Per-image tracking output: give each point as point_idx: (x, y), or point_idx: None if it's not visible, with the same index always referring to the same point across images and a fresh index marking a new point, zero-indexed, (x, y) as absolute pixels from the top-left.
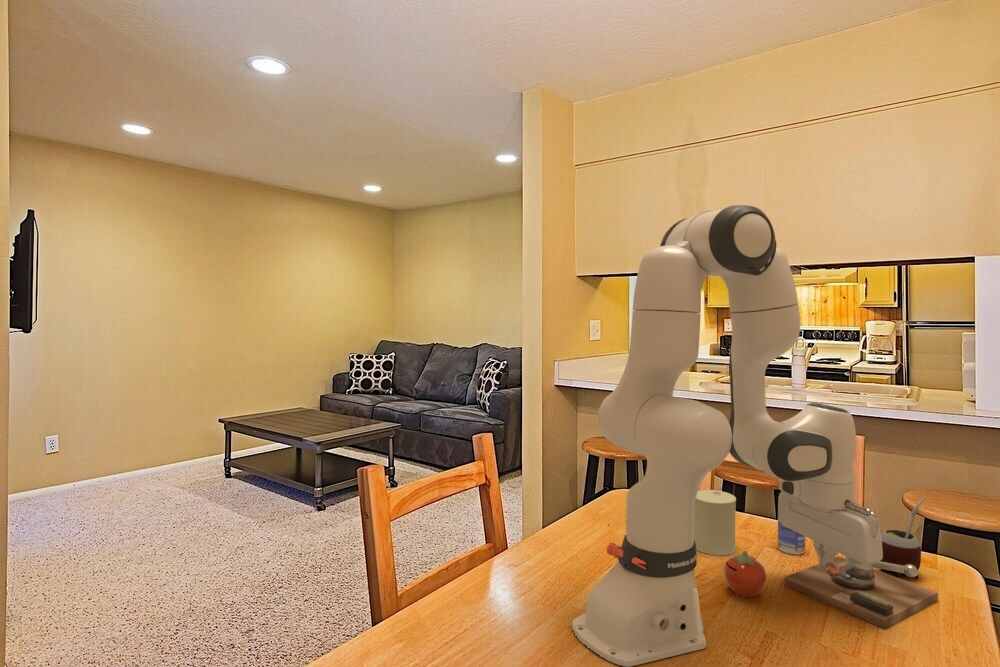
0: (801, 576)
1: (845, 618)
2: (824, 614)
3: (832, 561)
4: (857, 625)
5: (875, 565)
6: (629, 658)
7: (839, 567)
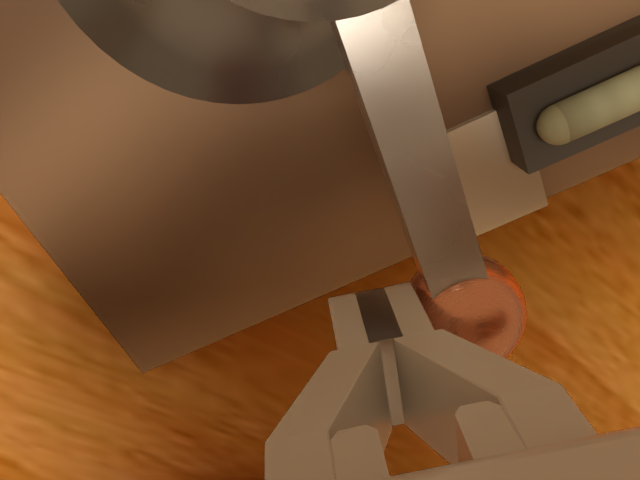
0: (129, 269)
1: (555, 229)
2: None
3: (427, 319)
4: (630, 212)
5: None
6: None
7: (483, 265)
